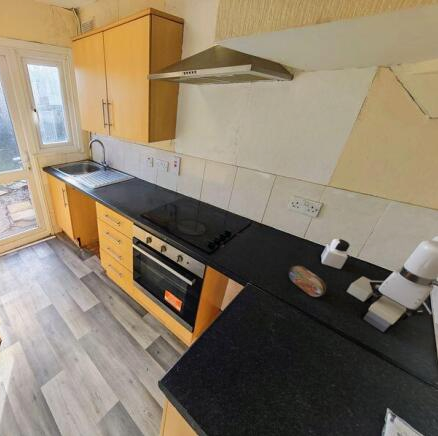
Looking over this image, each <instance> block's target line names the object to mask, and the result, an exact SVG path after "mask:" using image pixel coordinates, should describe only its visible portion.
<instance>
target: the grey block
mask: <svg viewBox="0 0 438 436" xmlns="http://www.w3.org/2000/svg"><path fill="white" fill-rule="evenodd" d="M362 319H363V320H364V321H366V322H367V323H368V324H369V325H372V326H373V327H374V328H376V329H378V330H379V331H381V332H382V333H385V332H386V331H387V330H388V328H390V327H391V326H392V324H391V323H389V322H387V321H386V320H384V319H383V318H381V317H379V316H378V315H376V314H375V313H373V312H371V311H370V310H368V311H367V313H365V315H364V316H363V317H362Z"/></svg>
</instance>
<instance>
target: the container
mask: <svg viewBox="0 0 438 436" xmlns="http://www.w3.org/2000/svg"><path fill="white" fill-rule="evenodd" d="M350 246H351V244H350V243H349V242H348V241H347V240H344V239H341V238H334V239H332V241H331V243H330V244H328V243H327V244H326V245H325V247H324V250H323V251H322V253H321V255H320V257H321V264H322V265H325V266H329V267H332V268H335V269H339V270H341V269H342V268H343V266H344V265H345V263H346V261H347V259H348V254H347V251H348V250H349V248H350Z"/></svg>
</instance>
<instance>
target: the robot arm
mask: <svg viewBox="0 0 438 436" xmlns="http://www.w3.org/2000/svg"><path fill="white" fill-rule="evenodd" d="M369 283H370V286H371V289H372V291H373V293H374V295H373V296H372V298H370V302H371V303H370V306H371V305H372V304H373V303H375V302H376V301H377V300H379V299H380V298H381V297H382V296H386V297H387V298H389V299H391V300H393V301H394V302H396V303H398V304H400V305H402V306H403V307H405V308H406V311H405V312H404V313H403V314H402V315H401V317H400V318H399V319H398V320H397V322H399V323H400V322H401V321H403V322H405V321H406V320H407V319H408V318H409V317H411V316H413V317H414V316H415V317H420V316H422V317H423V316H425V317H427V316H428V317H429V316H430V317H431V315H433V312H432V311H431V309H430V308H429V307H428V305H427V303H426V302H425V301H426V300H427V299H428V297H429V296H430V295H431V293H432V291H433V289H434V286H436V287H438V235H436V236H435V237H433V238H432V239H426V240H423V241H421V242H420V243H419V244H418V245H417V247H416V248H415V249H414V251H413V252H412V253H411V254H410V255H409V257H408V258H407V259H406V261H405V262H404V264H403V265H401V268H400V269H399V268H397V269H395V270H394V271H392V273H390V274H389V276H387V278H386V279H385V280H371V281H370V282H369ZM376 285H380V287H379V289H378V288H377V286H376ZM419 307H420V309H421V310H419V309H418V308H419Z"/></svg>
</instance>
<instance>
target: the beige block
mask: <svg viewBox="0 0 438 436" xmlns="http://www.w3.org/2000/svg"><path fill="white" fill-rule="evenodd" d="M370 281H372V280H371V279H369V278H367V277H366V276H361V277H360V278H358V279H356V280H355V281H354V282H351V284H350V285H349V287H348V288H347V290H346V293H348V294H350V295H351V296H353V297H355V298H356V299H358V300H360V301H361V302H363V303H364V302H365V301H368V299H370V298H371V297H373V296H374V293H373V291H372V289H371V286H370V283H369V282H370ZM376 286H377V288H378V290H379V287H380V286H381V285H376Z"/></svg>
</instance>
